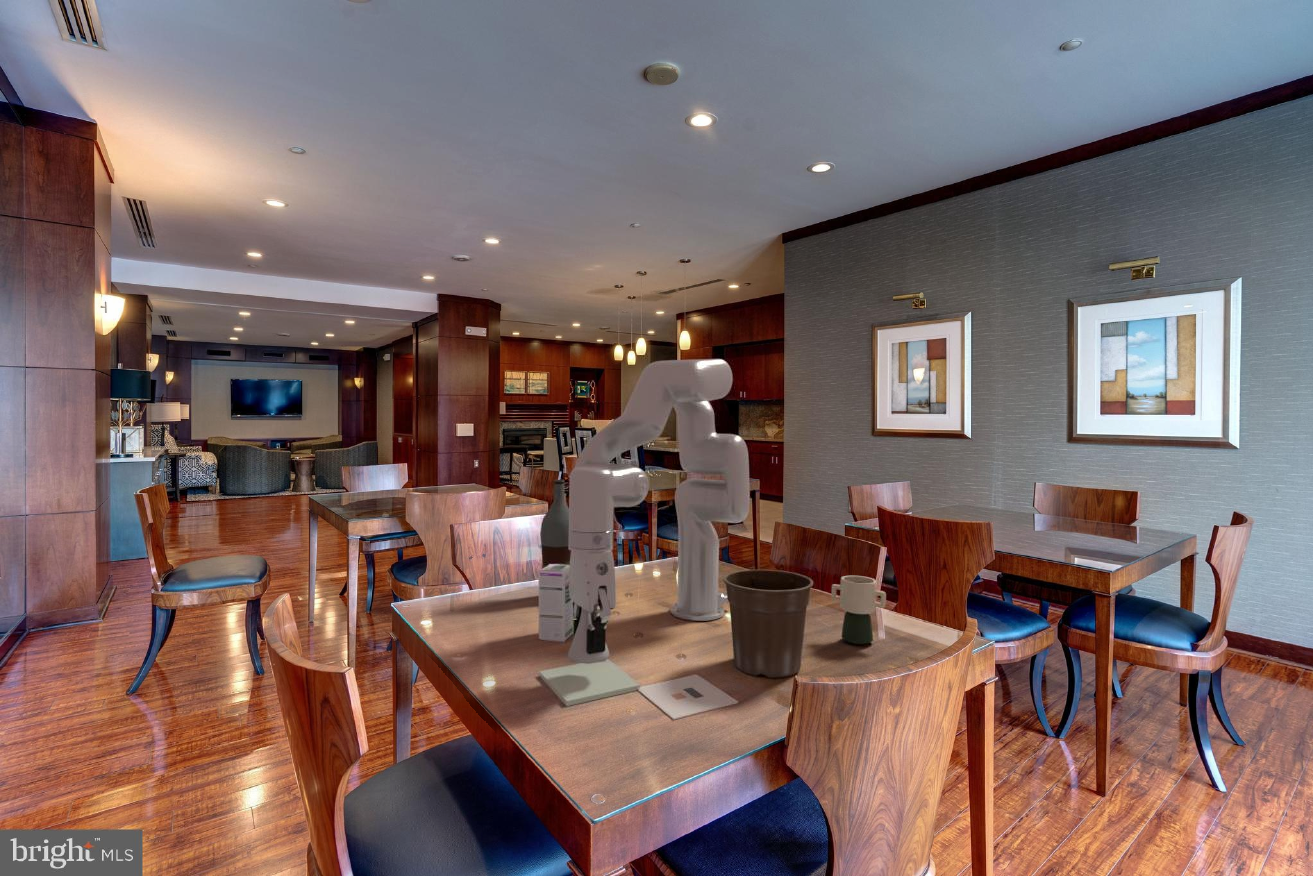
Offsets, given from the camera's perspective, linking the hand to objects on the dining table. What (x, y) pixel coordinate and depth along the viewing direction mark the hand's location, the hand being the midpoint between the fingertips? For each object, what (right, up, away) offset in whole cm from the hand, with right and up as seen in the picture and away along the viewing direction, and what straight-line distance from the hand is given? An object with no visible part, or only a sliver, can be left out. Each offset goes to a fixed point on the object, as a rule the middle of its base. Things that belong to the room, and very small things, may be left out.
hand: (589, 645), depth 103 cm
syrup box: (-9, -6, +22) cm, 25 cm away
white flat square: (+16, -7, -4) cm, 18 cm away
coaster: (0, -6, 0) cm, 6 cm away
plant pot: (+32, -7, +9) cm, 34 cm away
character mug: (+53, -7, +22) cm, 58 cm away
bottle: (-13, -6, +50) cm, 52 cm away
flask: (0, -2, 0) cm, 2 cm away
